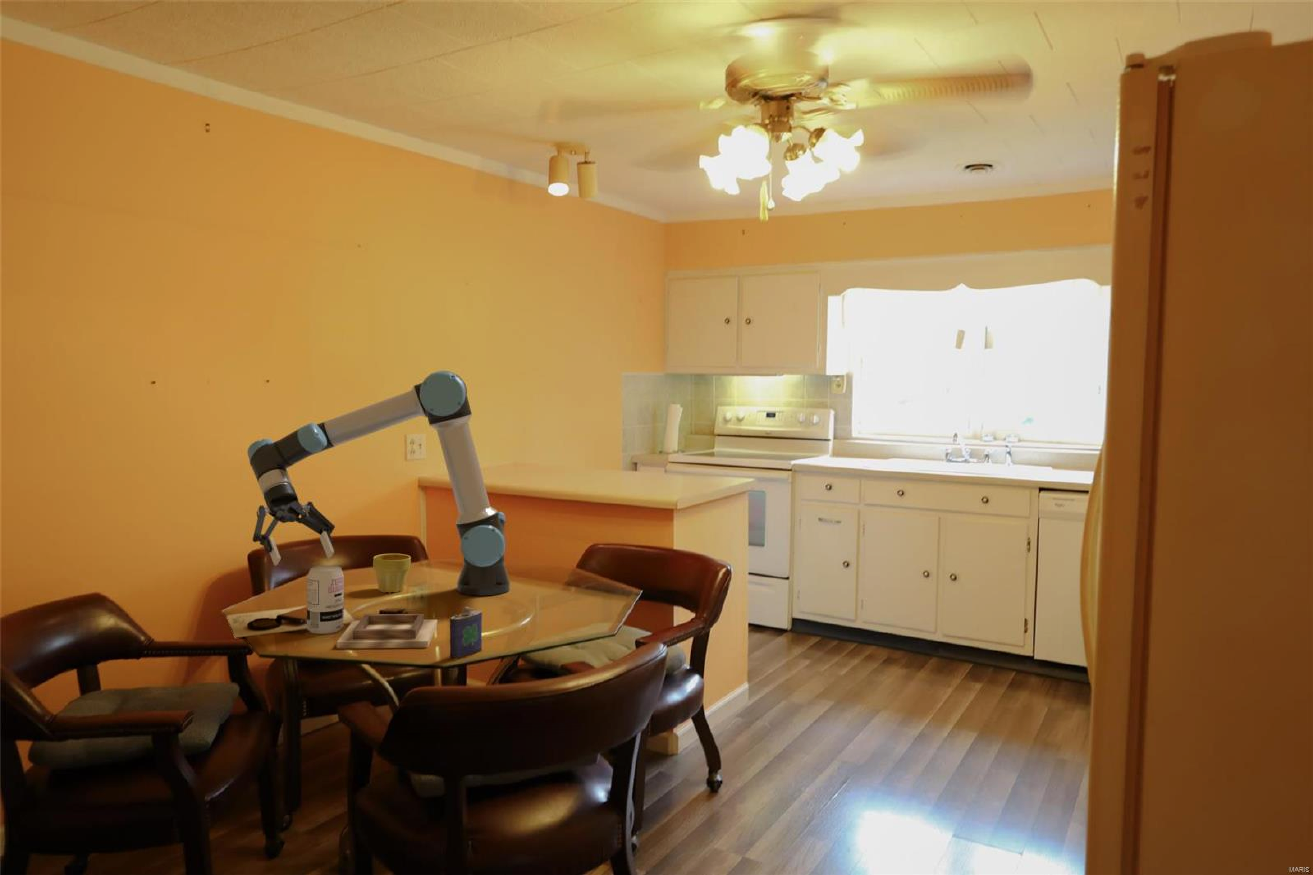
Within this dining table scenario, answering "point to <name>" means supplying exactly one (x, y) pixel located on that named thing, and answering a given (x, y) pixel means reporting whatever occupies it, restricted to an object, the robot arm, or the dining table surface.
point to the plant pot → (391, 571)
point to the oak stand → (388, 632)
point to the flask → (465, 634)
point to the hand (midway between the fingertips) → (305, 558)
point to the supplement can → (325, 599)
